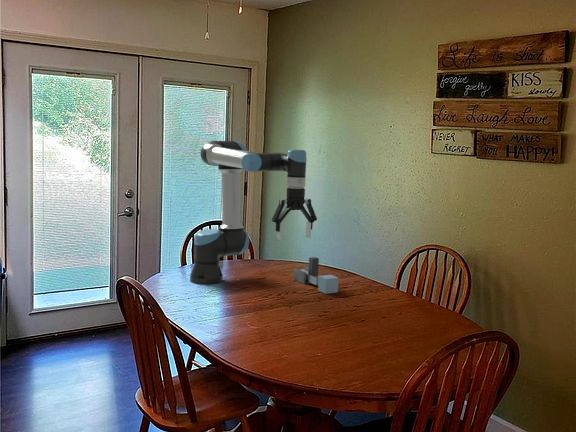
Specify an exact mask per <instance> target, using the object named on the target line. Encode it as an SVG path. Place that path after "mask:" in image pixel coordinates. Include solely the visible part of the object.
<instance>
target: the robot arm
mask: <svg viewBox="0 0 576 432" xmlns="http://www.w3.org/2000/svg"><path fill="white" fill-rule="evenodd" d="M199 154H200V158H201V160H202V161H203V163H204V164H205V165H208V166H211V167H217V168H218V169H217V170H218V171H219V172H220V173H221V206H222V207H221V208H222V209H221V210H222V215H221V216H222V219H221V221H222V223H221V225H219V229H218V228H209V229H208V228H207V229H202V230H199V231H197V232H196V233H195V234H194V241H193V244H194V247H193V248H194V249H193V251H194V254H193V257H194V260H193V266H192V268H191V271H190V274H189V275H190V276H189V281H190V282H192V283H195V284H198V285H199V284H200V285H213V284H218V283H222V282H223V280H224V275H223V272H222V268H221V265H220V258H222V257H226V256H227V257H228V256H238V255H241V254H244V253H245V252H246V251H247V249H248V248H249V244H250V235H248V234H249V232H248V231H247V230H245V227H244V226H243V224H242V223H241V175H240V174H241V172H242V171H246V172H250V173H255V172H257V173H258V172H286V173H287V174H286V177H287V178H286V187H287V188H286V199H282V198H280V199H279V200H278V205H277V208H276V209H275V211H274V214H273V216H272V218H271V222H272V223H275V231H276V232H277V233H276V234H277V235H276V239H277V240H279V241H281V240H283V239H282V237H283V224H282V222H283V221H284V219H286V217H287V215H288V214H289V213H290V212H291V211H300V212H301V213H302V214H303V215H304V218H305V219H306V220H307V221H306V222H305V238H308V239H311V233H312V231H311V230H313V223H315V222H316V221H318V218H317V216H316V213H315V210H314V207H313V205H312V199H311V198H306V199H305V195H306V189H305V187H306V175H307V174H306V171H307V161H308V160H307V151H306V150H304V149H288V151H287V153H283V152H254V151H248V149H247V147H246V146H245V144H244V143H243V142H241V141H238V140H210V141H207V142H205V144H203V146H202V147H201V149H200V152H199ZM304 204H305V205H306V207H307V209H306V207H305V206H304ZM285 205H286V206H285ZM307 210H308V211H307Z"/></svg>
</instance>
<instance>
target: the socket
mask: <svg viewBox="0 0 576 432" xmlns="http://www.w3.org/2000/svg"><path fill="white" fill-rule="evenodd" d="M317 287H318V288H317V292H321V293H322V294H325V295H326V294H335V293H339V277H338V276H336V275H333V274H326V275H319V280H318V285H317Z"/></svg>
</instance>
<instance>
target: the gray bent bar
mask: <svg viewBox="0 0 576 432" xmlns="http://www.w3.org/2000/svg"><path fill="white" fill-rule="evenodd" d="M319 263H320V258H319V257H317V256H311V257H309V258H308V268H309V271H307V270H305V268H303V269H300V270H301V271H304V272H306V281H308V282H310V283H309V284H313V285H315V286H318V280H319V276H320V275H319V266H320V265H319Z"/></svg>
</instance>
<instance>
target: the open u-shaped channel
mask: <svg viewBox="0 0 576 432" xmlns="http://www.w3.org/2000/svg"><path fill="white" fill-rule="evenodd" d="M301 270H302V269H299V268H296V267H295V268H294V270H293V271H294V272H293V274H294V275H293V276H294V277H293V280H295V281H297V282H299V283H301V284H303V285H306V284H311V283H310V282H308V281H306V272H304V271H301ZM304 270H307V271H309V267H307V266H305V267H304Z"/></svg>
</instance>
